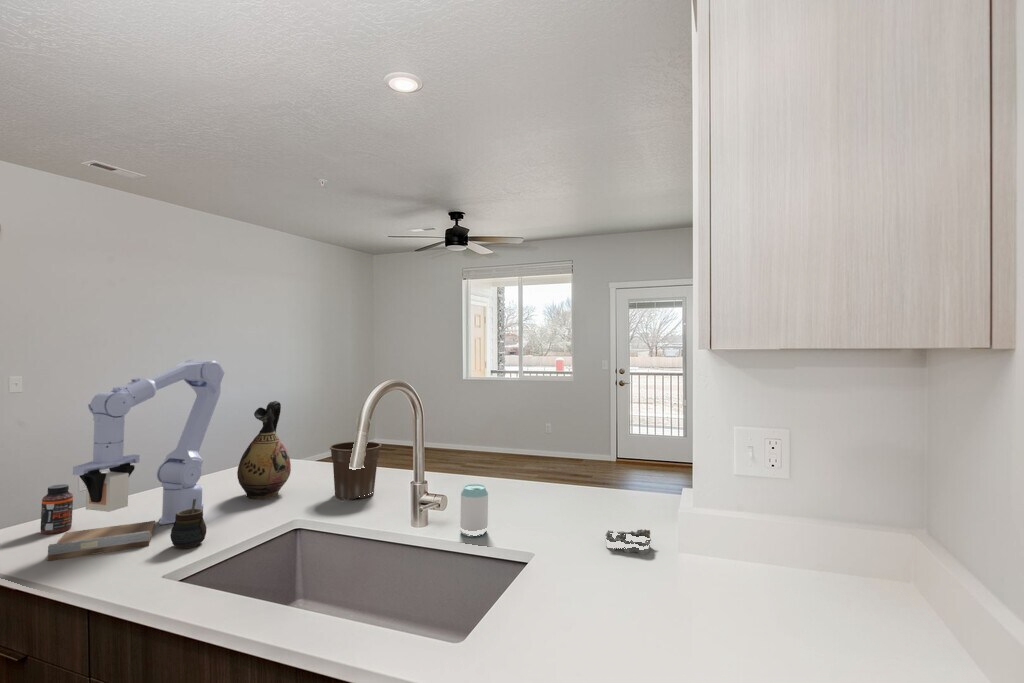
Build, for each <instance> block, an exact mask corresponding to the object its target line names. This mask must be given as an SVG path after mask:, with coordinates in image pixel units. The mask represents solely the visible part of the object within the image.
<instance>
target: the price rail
mask: <svg viewBox="0 0 1024 683" xmlns="http://www.w3.org/2000/svg"><path fill="white" fill-rule="evenodd" d="M149 537H150V531H144V532H136V533H129V534H122V535H115V536H108V537H100V538H93V539H86V540H79V541H72V542H65V543H58V542H57V543H52V544H49V545H48V546H47V556H48V555H54V554H60V553H67V552H74V551H81V550H88V549H94V548H101V547H108V546H115V545H122V544H128V543H135V542H142V541H149Z"/></svg>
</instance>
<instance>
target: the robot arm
mask: <svg viewBox="0 0 1024 683" xmlns="http://www.w3.org/2000/svg"><path fill="white" fill-rule="evenodd" d="M224 375H225V370H224V369H223V366H222V365H221V363H220V362H218V361H217V360H213V359H212V360H211V359H210V360H194V359H188V360H185V361H183V362H179V363H177V365H175V366H173V367H170V368H169V369H167V370H165V371H163V372H161V373H159V374H156V375H155V376H153V377H151V378H146V377H133V378H131V381H130V382H128V383H126V384H123V385H120V386H114V387H112V390H111V391H110V392H109V391H103V392H98V393H97V394H95V395H94V397H92V399H91V401H90V403H89V404H88V405H87V407H88V410H89V412H90V413H91V415H92V416H93V419H92V420H93V422H94V423H93V445H92V446H93V449H92V450H93V452H92V461H91V460H90V461H89V462H85V463H82V464H79V465H75V466H74V465H73V466H72V475H73V476H78V477H79V478H80V479H81V480H82V482H83V483H84V485H85V487H87V489H88V492H89V495H90V499H91V502H97V503H98V502H101V499H102V489H103V483H104V480H105V477H106V475H107V474H106V473H101V472H102V470H103V471H104V470H107V469H109V472H121V473H129V477H130V476H131V475H132V473H133V472H134V471H135V469H136V468H135V467H136V466H135V465H133V464H138V463H140V454H128V455H124V450H125V449H124V448H125V443H124V442H125V441H124V440H125V416H126V415H127V414H128V413H129V412H130V410H131V409H132V408H134V407H135V406H137V405H139V404H142V403H145V402H146V401H148V400H150V399H152V398H154V397H155V396H156V393H157V391H158V390H161V389H163V388H166V387H168V386H171V385H172V384H175V383H178V382H180V381H184V382H185V383H186V384H187V385H188V386H189V387H190V388H191V389H192V390H193V391H194V392H195V394H196V397H195V399H194V402H193V404H192V407H191V410H190V412H189V415H188V417H187V419H186V423H185V424H184V428H183V429H182V433H181V435H180V437H179V440H178V443H177V446H176V448H175V449H174V450H172V451H171V452H169V453H168V454H167V455H166V456H165V459H164V460H163V462H162V463H161V464H160V465H159V466H158V468H157V470H156V479H157V480H158V482H159V483H161V487H162V506H161V508H162V510H161V512H162V513H161V515H160V519H159V522H158V524H159V525H160V526H161V525H169V524H174V523H175V520H176V519H175V517H176V515H175V514H176V513H178V512H179V511H182V510H187V509H192V505H193V499H196V503H195V508H194V509H202V510H203V511H204V504H203V484H202V483H201V484H197V483H198V482H199V480H200V478H201V476H202V465H203V463H204V460H203V458H202V457H201V455H200V454H199V451H200V449H201V446H202V444H203V441H204V438H205V436H206V432H207V430H208V428H209V425H210V423H211V419H212V416H213V414H214V413H215V412H214V411H215V408H216V406H217V404H218V400H219V398H220V395H221V389H222V388H221V383H222V380H223V378H224Z"/></svg>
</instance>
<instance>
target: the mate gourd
mask: <svg viewBox="0 0 1024 683" xmlns="http://www.w3.org/2000/svg"><path fill="white" fill-rule="evenodd" d="M195 503H196V499H193V505H192V509H187V510H182V511H179V512H178V513H176V514H175V515H176V517H175V519H176V520H175V523H173V526H172V528H171V531H170V535H169V537H170V540H171V543H172V545H173V546H174V547H175V548H177V549H183V550H184V549H185V550H186V549H191V548H195V547H197V546H199V545H200V544H201V543H202V542H203V541H204V540H205V539H206V535H207V526H206V523H205V519H204V509H203V510H202V509H194V508H195Z"/></svg>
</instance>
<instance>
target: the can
mask: <svg viewBox="0 0 1024 683" xmlns="http://www.w3.org/2000/svg"><path fill="white" fill-rule="evenodd" d="M488 512H489V492H488V490H487V488H486V485H483V484H478V483H473V484H466V485H464V486H463V489H462V491H461V492H460V520H459V521H460V523H459V524H460V525H459V526H460V527H461V528H462V529H464V530H468V531H477V530H482V529H485V528H487V526H488V525H489V524H488V523H489V520H488V519H489V518H488V517H489V513H488ZM460 527H459V528H460ZM488 527H489V526H488ZM459 532H460V533H461V534H462V535H463V536H465V537H469V538H474V537H473V535H470V536H467V535H469V534H466V533H463V532H462V531H461V530H460V529H459ZM479 535H482V534H479ZM479 535H477V536H479ZM482 536H483V535H482Z"/></svg>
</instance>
